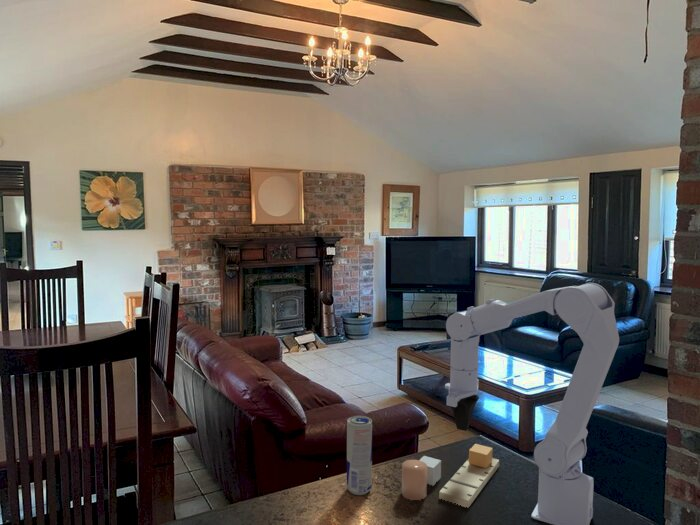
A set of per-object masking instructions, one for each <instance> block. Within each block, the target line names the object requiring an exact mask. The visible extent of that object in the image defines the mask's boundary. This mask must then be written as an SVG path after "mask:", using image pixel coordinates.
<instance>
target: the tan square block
mask: <svg viewBox="0 0 700 525" xmlns="http://www.w3.org/2000/svg"><path fill="white" fill-rule="evenodd" d="M493 453H494V452H493V447H491V446H486V445H482V444H478V443H475V444H474V445H472V447H470V448H469V450H468V459H469V464H473V465H476V466H480V467H484V468H487V467H488V466H489V465H490V463H491V462H492V458H493Z"/></svg>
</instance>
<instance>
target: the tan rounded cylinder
mask: <svg viewBox="0 0 700 525" xmlns="http://www.w3.org/2000/svg"><path fill="white" fill-rule="evenodd" d="M419 460H420V459H419ZM419 460H418V459H407V460H405V461H404V462H402V464H401V496H402V497H403V498H404V499H406V500H408V499H409V501H413V500H419V501H422V500H421V499H423V500H424V499H426V498H425V497H427V492H428V491H427V490H428V488H427V487H428V484H427V465H426V463H424V462H422V461H419Z"/></svg>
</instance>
